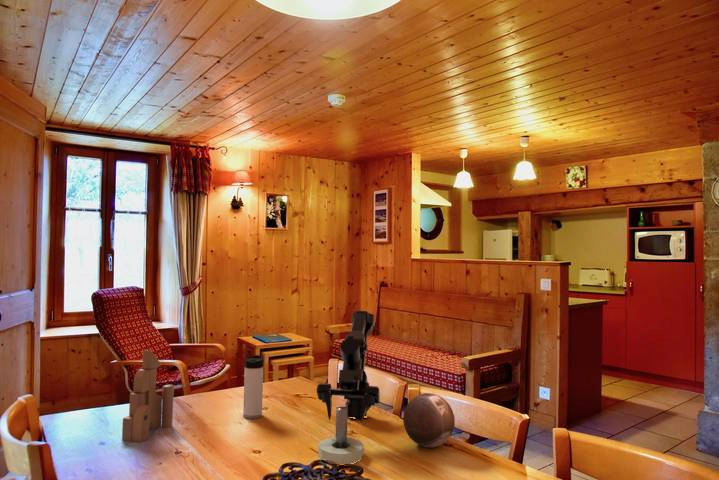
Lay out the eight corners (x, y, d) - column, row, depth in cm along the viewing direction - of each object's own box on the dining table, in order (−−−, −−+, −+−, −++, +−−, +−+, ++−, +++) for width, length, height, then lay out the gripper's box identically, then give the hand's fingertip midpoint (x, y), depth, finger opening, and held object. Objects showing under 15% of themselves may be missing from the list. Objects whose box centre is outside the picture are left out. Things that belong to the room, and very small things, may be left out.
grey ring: (354, 445, 141) (354, 435, 141) (368, 462, 130) (369, 451, 130) (314, 450, 137) (314, 439, 137) (325, 467, 126) (326, 456, 126)
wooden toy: (141, 443, 139) (144, 355, 140) (121, 440, 141) (125, 353, 142) (174, 425, 154) (177, 346, 155) (156, 422, 156) (159, 344, 157)
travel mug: (264, 413, 168) (266, 355, 168) (258, 419, 161) (260, 359, 162) (247, 412, 168) (248, 354, 169) (240, 418, 162) (242, 358, 162)
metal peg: (341, 452, 136) (342, 405, 136) (349, 456, 133) (350, 408, 134) (332, 455, 133) (333, 408, 134) (340, 459, 131) (341, 411, 132)
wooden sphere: (436, 460, 132) (437, 405, 132) (392, 445, 142) (393, 394, 142) (463, 445, 143) (464, 394, 144) (421, 432, 153) (421, 384, 153)
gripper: (318, 356, 147) (309, 404, 135) (379, 359, 144) (375, 408, 133) (323, 376, 154) (314, 422, 143) (381, 379, 152) (377, 427, 141)
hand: (344, 420), depth 140 cm, fingers open, 9 cm apart
